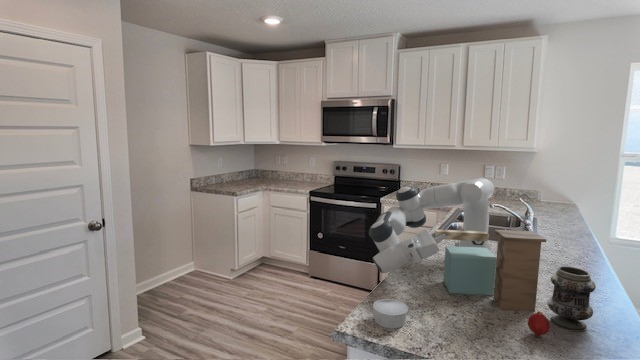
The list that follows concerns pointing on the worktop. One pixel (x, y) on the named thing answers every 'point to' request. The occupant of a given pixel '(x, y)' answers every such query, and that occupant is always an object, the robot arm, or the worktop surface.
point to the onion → (538, 324)
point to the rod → (463, 235)
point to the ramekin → (390, 313)
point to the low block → (469, 270)
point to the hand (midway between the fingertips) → (444, 233)
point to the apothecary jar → (571, 298)
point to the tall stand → (517, 269)
